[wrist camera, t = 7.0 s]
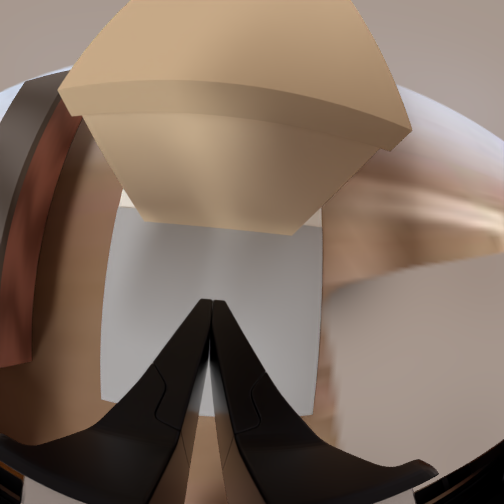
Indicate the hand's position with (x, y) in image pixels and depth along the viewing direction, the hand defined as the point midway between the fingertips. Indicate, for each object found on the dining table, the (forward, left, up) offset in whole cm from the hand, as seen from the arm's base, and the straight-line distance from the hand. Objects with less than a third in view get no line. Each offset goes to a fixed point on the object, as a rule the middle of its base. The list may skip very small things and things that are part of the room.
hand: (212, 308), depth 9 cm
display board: (+6, 0, -7) cm, 9 cm away
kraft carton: (+12, 0, -6) cm, 13 cm away
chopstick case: (+5, +15, -7) cm, 17 cm away
